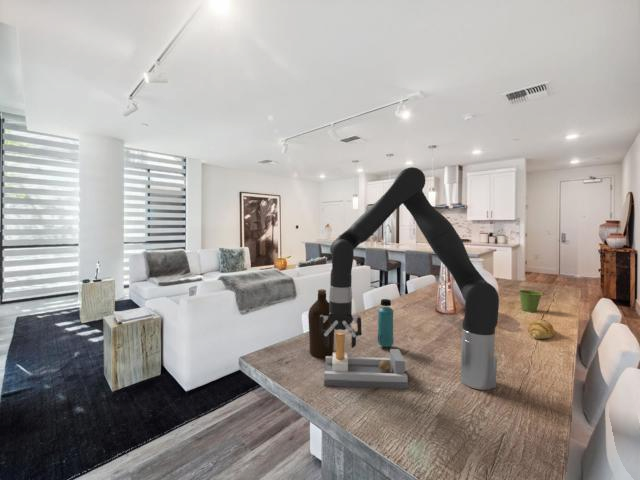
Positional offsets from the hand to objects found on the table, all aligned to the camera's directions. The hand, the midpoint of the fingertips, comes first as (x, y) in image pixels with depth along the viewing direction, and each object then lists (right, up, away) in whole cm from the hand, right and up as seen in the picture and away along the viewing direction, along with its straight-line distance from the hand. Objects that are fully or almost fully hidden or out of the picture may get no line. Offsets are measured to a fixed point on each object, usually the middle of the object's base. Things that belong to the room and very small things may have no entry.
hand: (339, 346), depth 100 cm
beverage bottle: (+20, -9, +23) cm, 32 cm away
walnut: (+15, -8, -1) cm, 17 cm away
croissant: (+97, -9, +39) cm, 105 cm away
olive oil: (-6, -9, +18) cm, 21 cm away
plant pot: (+119, -7, +78) cm, 142 cm away
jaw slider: (0, -8, 0) cm, 8 cm away
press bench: (+8, -10, 0) cm, 13 cm away
